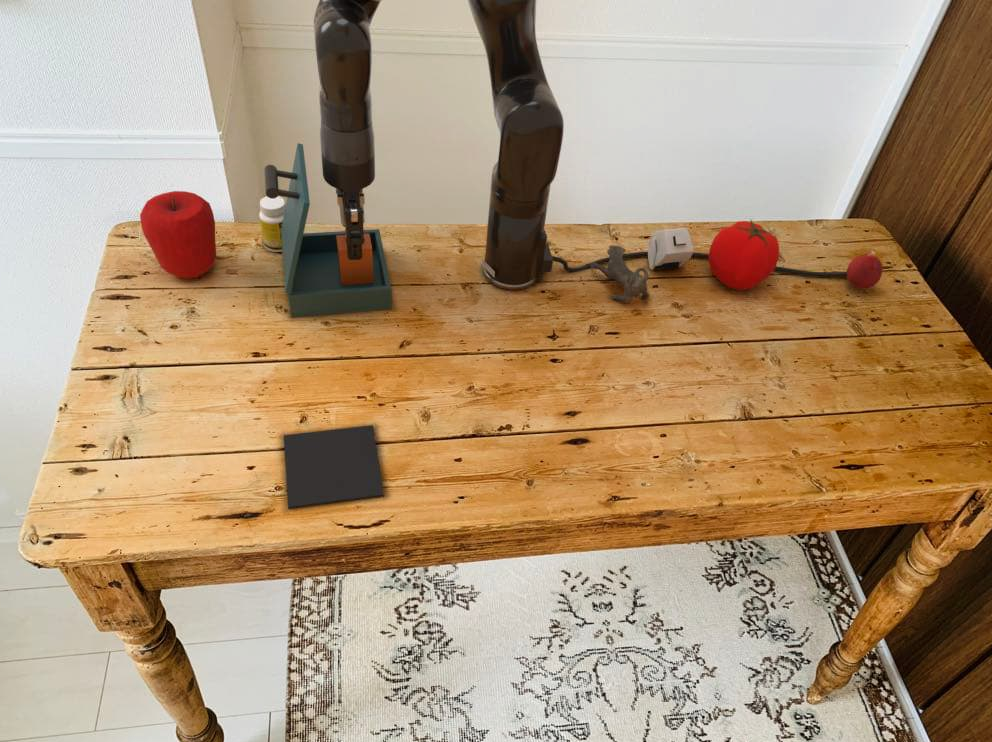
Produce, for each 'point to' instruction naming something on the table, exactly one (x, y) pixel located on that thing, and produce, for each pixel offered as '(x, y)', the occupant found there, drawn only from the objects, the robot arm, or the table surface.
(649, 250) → the light grey block
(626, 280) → the dog figurine
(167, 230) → the apple
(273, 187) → the lunchbox lid
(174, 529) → the table surface
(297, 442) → the mat
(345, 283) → the block
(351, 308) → the box
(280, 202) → the supplement bottle
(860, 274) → the onion
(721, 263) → the tomato
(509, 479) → the table surface
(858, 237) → the table surface
